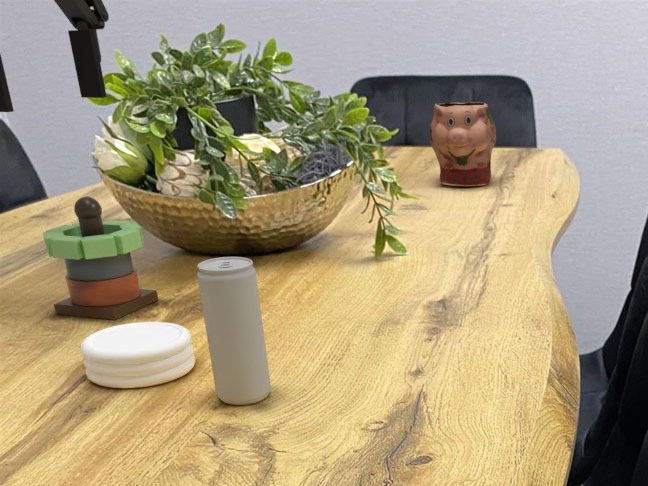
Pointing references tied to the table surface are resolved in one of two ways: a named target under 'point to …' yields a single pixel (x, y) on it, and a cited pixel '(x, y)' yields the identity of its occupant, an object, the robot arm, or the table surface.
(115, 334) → the coaster
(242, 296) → the beverage can
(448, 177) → the decorative planter
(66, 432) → the table surface
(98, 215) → the stacking stand
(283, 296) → the table surface
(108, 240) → the green ring
